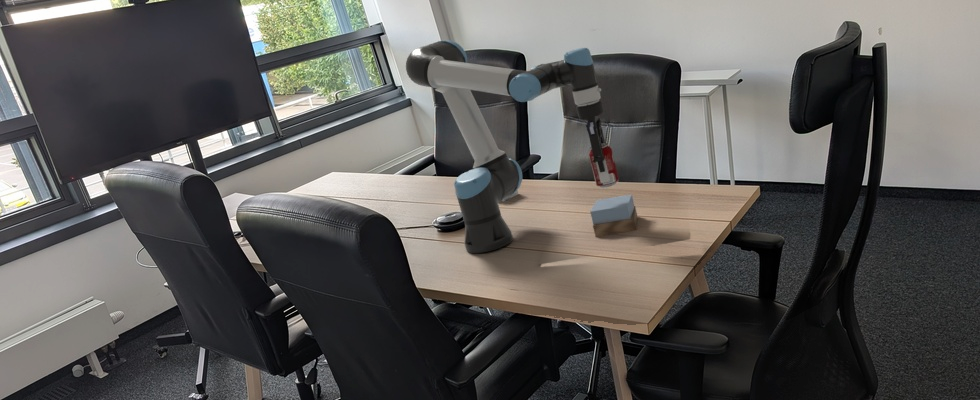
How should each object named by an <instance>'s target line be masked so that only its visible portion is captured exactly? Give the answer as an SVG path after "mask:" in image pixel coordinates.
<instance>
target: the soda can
mask: <svg viewBox="0 0 980 400" xmlns="http://www.w3.org/2000/svg"><path fill="white" fill-rule="evenodd" d="M601 145H602V150H603V155H604V159H605V161H606V165H607V169H608V173H609V178H610V181H609V182H604V183H601V182H600V178H599V174H598V169H597V165H596V162H593V160H594V156H593V152H592V147H591V146H590V147H589V149H590V151H589V153H588V156H589V161H590V165H591V169H592V172H593V173H592V174H593V178H594V182H595V185H596V186H597V187H599V188H602V189H603V188H610V187H612V186H615V185H617V183H618V182H619V181H620V180H619V179H620V178H619V175H618V169H617V166H616V163H615V157H614V154H613V149H612V148H611V146H610V145H609V143H607V142H605V143H602V144H601Z"/></svg>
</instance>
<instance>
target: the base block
mask: <svg viewBox="0 0 980 400" xmlns="http://www.w3.org/2000/svg"><path fill="white" fill-rule="evenodd" d="M638 218H639V217H638V213H637V208H636V206H635V207H634V210H633V212H632V215H631V218H630V219H625V220H618V221H612V222H606V223H599V224H593V223H592V227H593V231H594V232H593V233H594V236H595V238H597V237H603V236H608V235H614V234H620V233H621V234H622V233H625V232H626V233H627V232H632V231H637V228H638V227H637V225H638Z"/></svg>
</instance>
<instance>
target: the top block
mask: <svg viewBox="0 0 980 400" xmlns="http://www.w3.org/2000/svg"><path fill="white" fill-rule="evenodd" d="M634 207H636V205H635V202H634V198H633V194H624V195H619V196H614V197H608V198H607V197H606V198H600V199H596V200H595V202H594V203H593V206H592V207H591V209H590V211H589V212H590V217H591V221H592V225H593V224H599V223H606V222H612V221H618V220H625V219H630V218H631V215H632V212H633V210H634Z"/></svg>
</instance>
